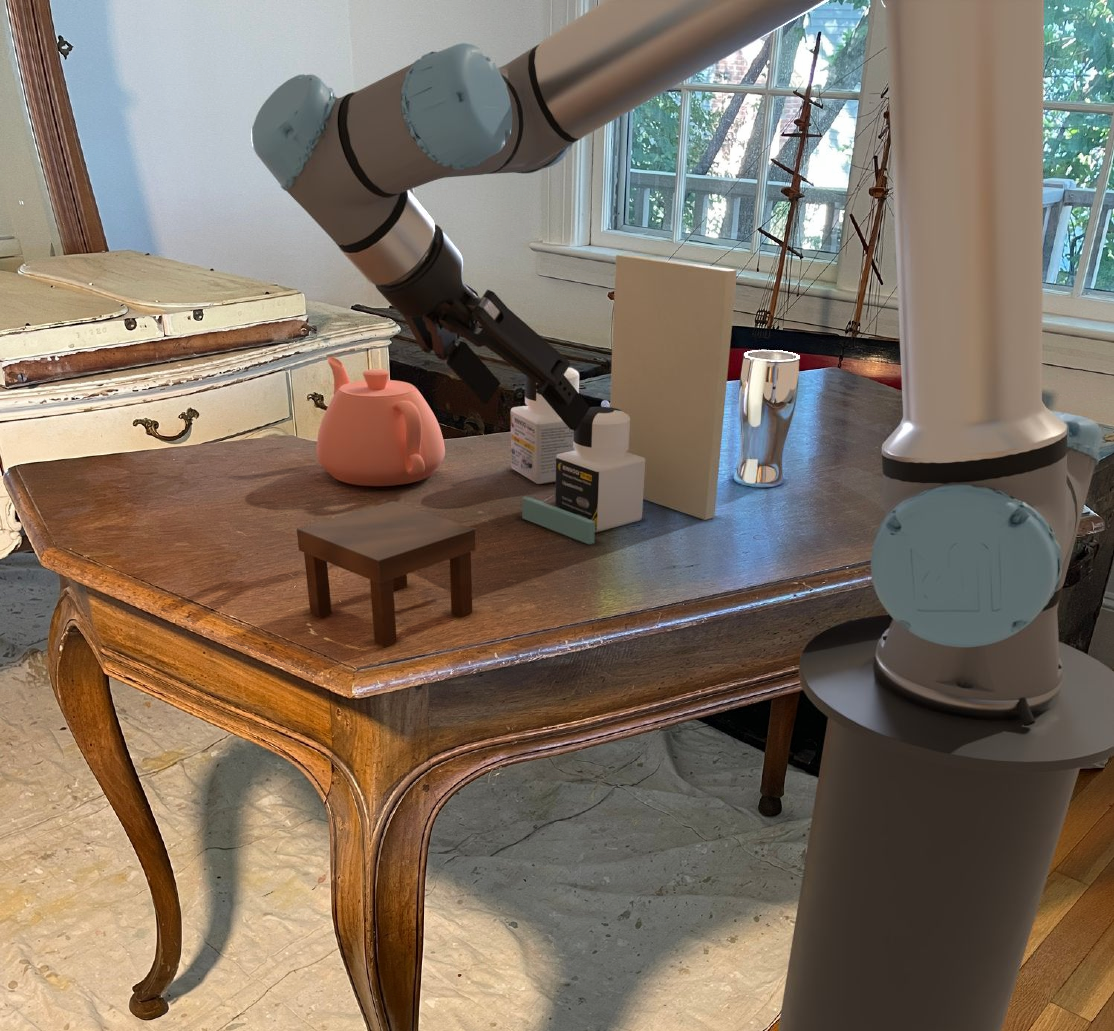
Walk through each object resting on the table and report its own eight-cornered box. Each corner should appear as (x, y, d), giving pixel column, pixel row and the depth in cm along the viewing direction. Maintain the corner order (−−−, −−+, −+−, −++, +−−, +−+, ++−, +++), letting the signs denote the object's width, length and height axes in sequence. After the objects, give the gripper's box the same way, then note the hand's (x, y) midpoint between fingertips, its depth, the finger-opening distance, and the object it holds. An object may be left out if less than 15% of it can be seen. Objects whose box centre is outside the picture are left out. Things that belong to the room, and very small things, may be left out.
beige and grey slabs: (714, 517, 125) (737, 270, 112) (605, 551, 115) (616, 283, 102) (615, 484, 135) (626, 254, 122) (507, 512, 125) (506, 265, 112)
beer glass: (755, 469, 142) (768, 347, 134) (797, 482, 137) (813, 356, 130) (718, 479, 138) (729, 354, 130) (761, 492, 133) (775, 363, 126)
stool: (477, 612, 100) (475, 528, 96) (384, 650, 93) (378, 560, 89) (398, 581, 107) (393, 500, 103) (305, 613, 100) (296, 528, 96)
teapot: (284, 460, 141) (273, 360, 135) (391, 443, 149) (386, 347, 143) (363, 506, 126) (355, 395, 120) (478, 484, 134) (476, 378, 128)
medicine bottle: (553, 516, 124) (555, 408, 118) (600, 504, 128) (604, 399, 122) (595, 533, 119) (599, 422, 113) (643, 520, 123) (649, 412, 117)
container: (510, 468, 140) (509, 362, 134) (563, 461, 143) (565, 357, 137) (537, 485, 134) (537, 375, 128) (592, 477, 137) (596, 369, 131)
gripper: (521, 231, 87) (642, 397, 104) (348, 207, 103) (477, 355, 119) (470, 308, 87) (599, 463, 103) (304, 272, 103) (439, 412, 119)
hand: (534, 405), depth 111 cm, fingers open, 13 cm apart
